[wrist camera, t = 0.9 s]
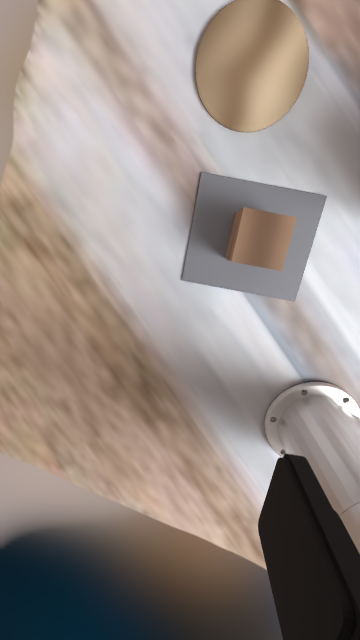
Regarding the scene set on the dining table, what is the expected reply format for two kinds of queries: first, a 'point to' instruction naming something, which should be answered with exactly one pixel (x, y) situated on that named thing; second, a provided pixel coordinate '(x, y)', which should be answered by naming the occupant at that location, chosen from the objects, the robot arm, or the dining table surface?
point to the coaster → (252, 64)
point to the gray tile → (215, 226)
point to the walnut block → (260, 238)
